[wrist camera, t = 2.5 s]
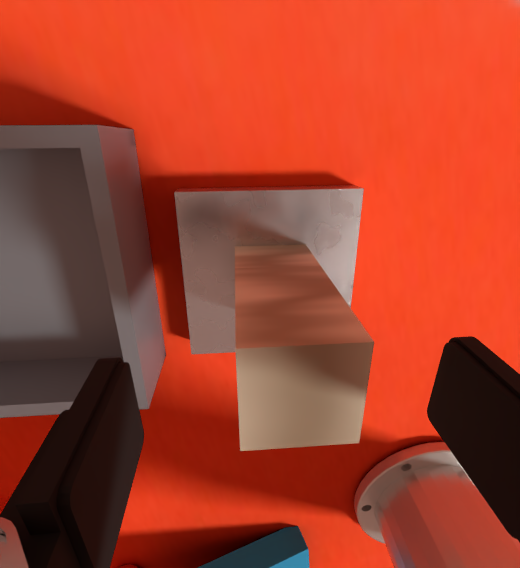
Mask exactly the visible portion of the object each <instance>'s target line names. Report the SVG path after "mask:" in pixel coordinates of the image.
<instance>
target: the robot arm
mask: <svg viewBox="0 0 520 568" xmlns="http://www.w3.org/2000/svg"><path fill="white" fill-rule="evenodd" d="M427 414H428V418H429V420H430V422H431V423H432V425H433V426H434V428H435V429H436V431H437V432H438V433H439V435H440V436H441V438H442V439H443V441H444V442H433V443H425V444H420V445H416V446H412V447H409V448H407V449H404V450H401V451H399V452H397V453H395V454H393V455H391V456H389V457H387V458H386V459H384V460H383V461H381V462H380V463H378V464H377V465H376V466H375V467H374V468H373V469H372V470H370V471H369V472H368V473H367V475H366V476H365V477H364V479H363V480H362V481H361V483H360V485H359V487H358V489H357V491H356V494H355V498H354V510H355V513H356V516H357V519H358V522H359V524H360V526H361V528H362V529H363V531H364V532H365V533H367V534H368V535H369V536H370V537H372V538H373V539H375V540H377V541H379V542H382V543H385V544H386V547H387V549H388V552H389V555H390V557H391V560H392V563H393V565H394V568H520V374H519V373H517V372H516V371H515V370H514V369H513V368H511V367H510V366H509V365H508V364H506V363H505V362H504V361H503V360H502V359H500V358H499V357H498V356H497V355H496V354H494V353H493V352H492V351H491V350H490V349H488V348H487V347H486V346H485V345H484V344H482V343H481V342H480V341H479V340H478V339H476V338H475V337H455V338H451V339H450V340H449V343H446V344H445V346H444V349H443V353H442V356H441V360H440V364H439V367H438V371H437V375H436V379H435V382H434V386H433V390H432V393H431V397H430V401H429V404H428V408H427ZM143 440H144V431H143V426H142V421H141V416H140V411H139V407H138V402H137V397H136V392H135V388H134V383H133V378H132V373H131V369H130V365H129V363H128V362H123V360H122V358H120V357H117V358H100V359H98V360H97V361H96V363H95V365H94V367H93V368H92V370H91V372H90V374H89V375H88V377H87V379H86V381H85V382H84V384H83V386H82V388H81V389H80V391H79V393H78V395H77V397H76V398H75V400H74V402H73V404H72V405H71V407H70V409H69V410H65V411H63V412H62V413H61V414H60V415H59V417H58V418H57V420H56V421H55V423H54V425H53V426H52V428H51V430H50V432H49V433H48V435H47V437H46V438H45V440H44V442H43V443H42V445H41V447H40V448H39V450H38V452H37V453H36V455H35V457H34V459H33V460H32V462H31V464H30V465H29V467H28V469H27V470H26V472H25V474H24V475H23V477H22V479H21V481H20V482H19V484H18V486H17V487H16V489H15V491H14V492H13V494H12V496H11V497H10V499H9V501H8V503H7V504H6V506H5V508H4V509H3V511H2V513H1V514H0V568H110V565H111V561H112V557H113V554H114V550H115V546H116V543H117V539H118V535H119V531H120V528H121V524H122V520H123V516H124V513H125V509H126V505H127V502H128V498H129V494H130V490H131V487H132V483H133V479H134V476H135V472H136V468H137V464H138V461H139V457H140V453H141V450H142V446H143Z"/></svg>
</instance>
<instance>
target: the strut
mask: <svg viewBox="0 0 520 568" xmlns="http://www.w3.org/2000/svg"><path fill="white" fill-rule="evenodd" d="M235 340H236V369H237V391H238V414H239V436H240V451H250V450H265V449H279V448H294V447H309V446H323V445H338V444H353V443H359V441H360V434H361V427H362V420H363V414H364V407H365V400H366V393H367V386H368V380H369V373H370V366H371V359H372V353H373V346H374V341H373V340H372V338H371V337H370V335H369V334H368V333H367V331H366V330H365V328H364V327H363V325H362V324H361V323H360V321H359V320H358V318H357V317H356V315H355V314H354V313H353V311H352V310H351V308H350V307H349V305H348V304H347V303H346V301H345V300H344V298H343V297H342V295H341V294H340V293H339V291H338V290H337V288H336V287H335V285H334V284H333V283H332V281H331V280H330V278H329V277H328V275H327V274H326V273H325V271H324V270H323V268H322V267H321V266H320V264H319V263H318V261H317V260H316V258H315V257H314V256H313V254H312V253H311V251H310V250H309V248H308V247H307V246H306V244H300V245H266V246H235Z"/></svg>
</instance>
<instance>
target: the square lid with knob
mask: <svg viewBox="0 0 520 568" xmlns="http://www.w3.org/2000/svg"><path fill="white" fill-rule="evenodd" d="M363 190H364V188H361V187H358V186H355V185H335V186H281V187H227V188H178V189H177V190H176V191H175V192H174V195H175V205H176V214H177V223H178V233H179V242H180V251H181V261H182V270H183V279H184V288H185V298H186V307H187V316H188V326H189V335H190V344H191V354H206V353H226V352H236V340H235V246H266V245H300V244H306V246H307V247H308V248H309V250H310V251H311V253H312V254H313V256H314V257H315V258H316V260H317V261H318V263H319V264H320V266H321V267H322V268H323V270H324V271H325V273H326V274H327V275H328V277H329V278H330V280H331V281H332V283H333V284H334V285H335V287H336V288H337V290H338V291H339V293H340V294H341V295H342V297H343V298H344V300H345V301H346V303H347V304H348V305H349V307H350V308H351V299H352V290H353V281H354V272H355V263H356V253H357V244H358V235H359V226H360V217H361V208H362V199H363Z"/></svg>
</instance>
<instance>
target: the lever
mask: <svg viewBox="0 0 520 568" xmlns="http://www.w3.org/2000/svg"><path fill="white" fill-rule="evenodd" d="M119 568H138V567H137V566H135V565H130V564H128V565H123V566H121V567H119ZM198 568H309V551H308V547H307V545H306V543H305V541H304V538H303V536H302V534H301V532H300V529H299V527H298V526H294V527H286V528H283V529H281V530H279V531H277V532H274V533H272V534H270V535H268V536H266V537H263V538H261V539H259V540H257V541H255V542H252V543H250V544H248V545H246V546H244V547H242V548H239V549H237V550H235V551H233V552H231V553H228V554H226V555H224V556H222V557H220V558H217V559H215V560H213V561H211V562H209V563H206V564H204V565H202V566H200V567H198Z"/></svg>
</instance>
